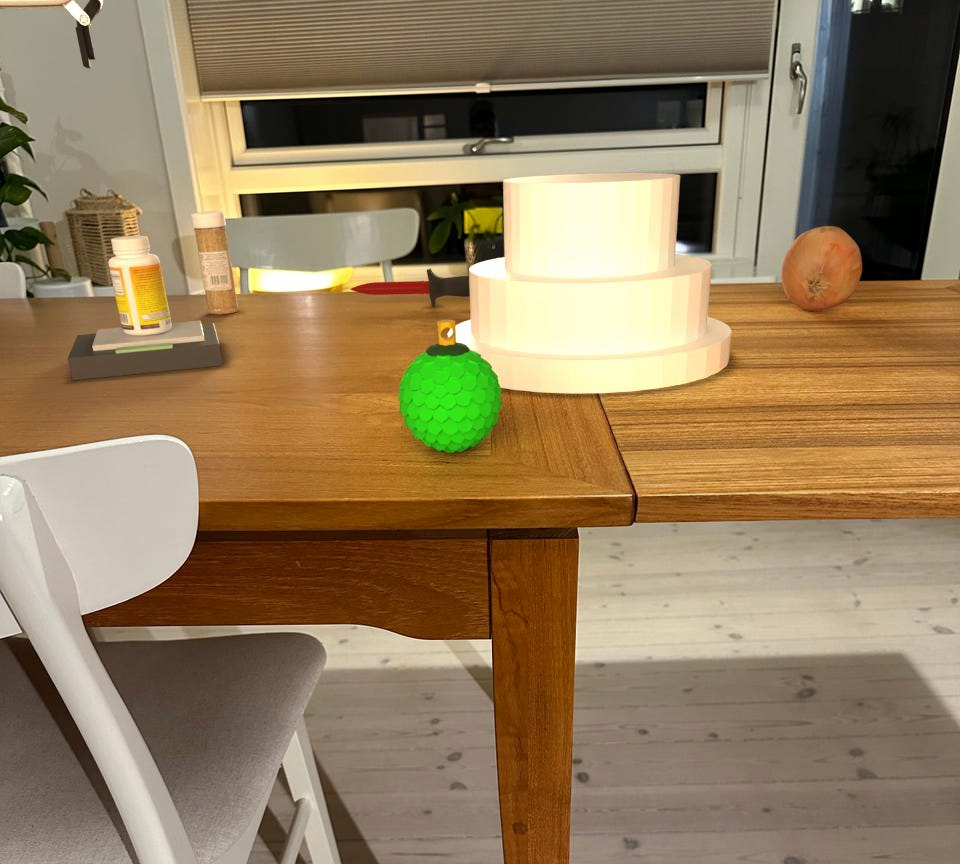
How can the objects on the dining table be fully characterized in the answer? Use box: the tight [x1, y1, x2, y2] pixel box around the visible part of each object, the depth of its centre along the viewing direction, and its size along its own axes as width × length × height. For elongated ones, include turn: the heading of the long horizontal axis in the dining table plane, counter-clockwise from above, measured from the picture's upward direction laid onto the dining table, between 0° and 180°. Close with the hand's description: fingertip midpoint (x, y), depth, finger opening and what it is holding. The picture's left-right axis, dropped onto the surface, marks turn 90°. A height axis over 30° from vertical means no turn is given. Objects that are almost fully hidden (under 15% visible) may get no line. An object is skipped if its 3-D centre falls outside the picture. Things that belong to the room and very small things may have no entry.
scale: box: [67, 320, 224, 381], centre depth 111 cm, size 16×14×3 cm
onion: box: [780, 225, 863, 312], centre depth 121 cm, size 10×10×10 cm
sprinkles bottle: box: [190, 210, 240, 315], centre depth 136 cm, size 5×5×14 cm
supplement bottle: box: [107, 235, 173, 336], centre depth 108 cm, size 6×6×10 cm
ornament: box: [397, 319, 503, 453], centre depth 74 cm, size 8×8×10 cm
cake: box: [447, 172, 732, 394], centre depth 99 cm, size 30×30×18 cm
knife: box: [349, 268, 470, 307], centre depth 136 cm, size 24×2×5 cm, turn 84°
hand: (43, 68), depth 109 cm, fingers open, 9 cm apart
